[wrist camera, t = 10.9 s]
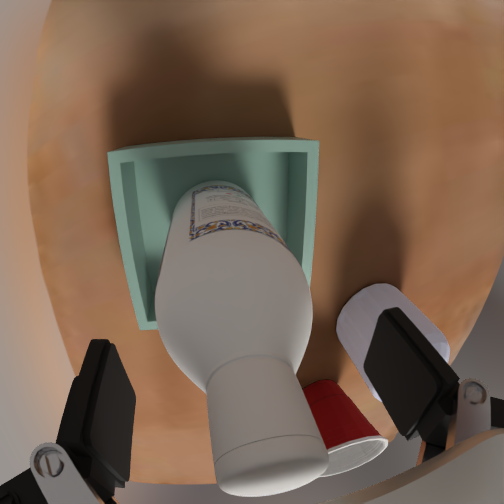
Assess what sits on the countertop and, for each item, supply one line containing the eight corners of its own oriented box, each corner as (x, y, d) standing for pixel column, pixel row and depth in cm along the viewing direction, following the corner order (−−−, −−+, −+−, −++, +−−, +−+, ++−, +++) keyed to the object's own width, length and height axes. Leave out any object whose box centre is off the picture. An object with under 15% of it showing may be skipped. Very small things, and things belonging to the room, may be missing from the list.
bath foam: (217, 275, 26) (265, 518, 8) (154, 224, 23) (88, 483, 5) (275, 219, 24) (429, 430, 6) (214, 160, 22) (306, 348, 4)
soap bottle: (322, 343, 33) (421, 529, 11) (354, 276, 29) (511, 468, 7) (378, 344, 35) (477, 490, 13) (410, 285, 32) (545, 428, 10)
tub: (125, 146, 20) (107, 152, 16) (295, 136, 23) (319, 140, 18) (147, 296, 26) (139, 330, 22) (289, 283, 28) (307, 313, 24)
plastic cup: (264, 395, 35) (287, 474, 24) (337, 354, 34) (379, 428, 23) (298, 423, 40) (321, 486, 29) (359, 389, 39) (394, 449, 28)
